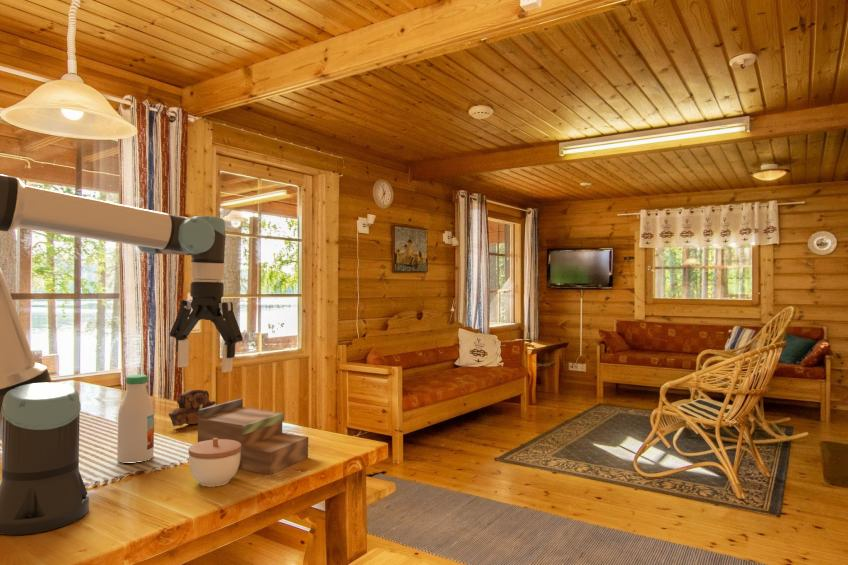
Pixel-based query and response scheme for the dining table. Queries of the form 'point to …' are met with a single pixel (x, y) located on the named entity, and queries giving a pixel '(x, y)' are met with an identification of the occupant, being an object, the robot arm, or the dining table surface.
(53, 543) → the dining table surface
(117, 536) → the dining table surface
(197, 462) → the lidded jar
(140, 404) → the milk bottle
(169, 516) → the dining table surface
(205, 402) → the wooden carving
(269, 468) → the stepped stand
